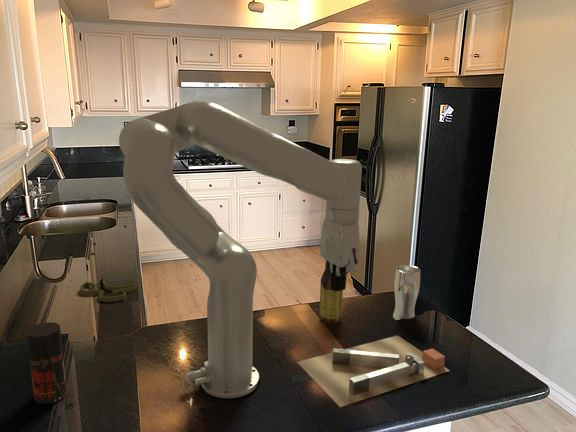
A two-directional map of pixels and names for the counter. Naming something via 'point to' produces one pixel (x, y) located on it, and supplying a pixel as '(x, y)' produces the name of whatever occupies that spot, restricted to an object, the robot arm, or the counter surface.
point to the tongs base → (386, 375)
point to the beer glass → (406, 291)
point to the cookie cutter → (117, 291)
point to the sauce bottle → (329, 299)
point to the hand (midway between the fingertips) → (338, 289)
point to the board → (362, 370)
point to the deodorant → (46, 361)
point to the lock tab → (433, 358)
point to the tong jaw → (364, 358)
